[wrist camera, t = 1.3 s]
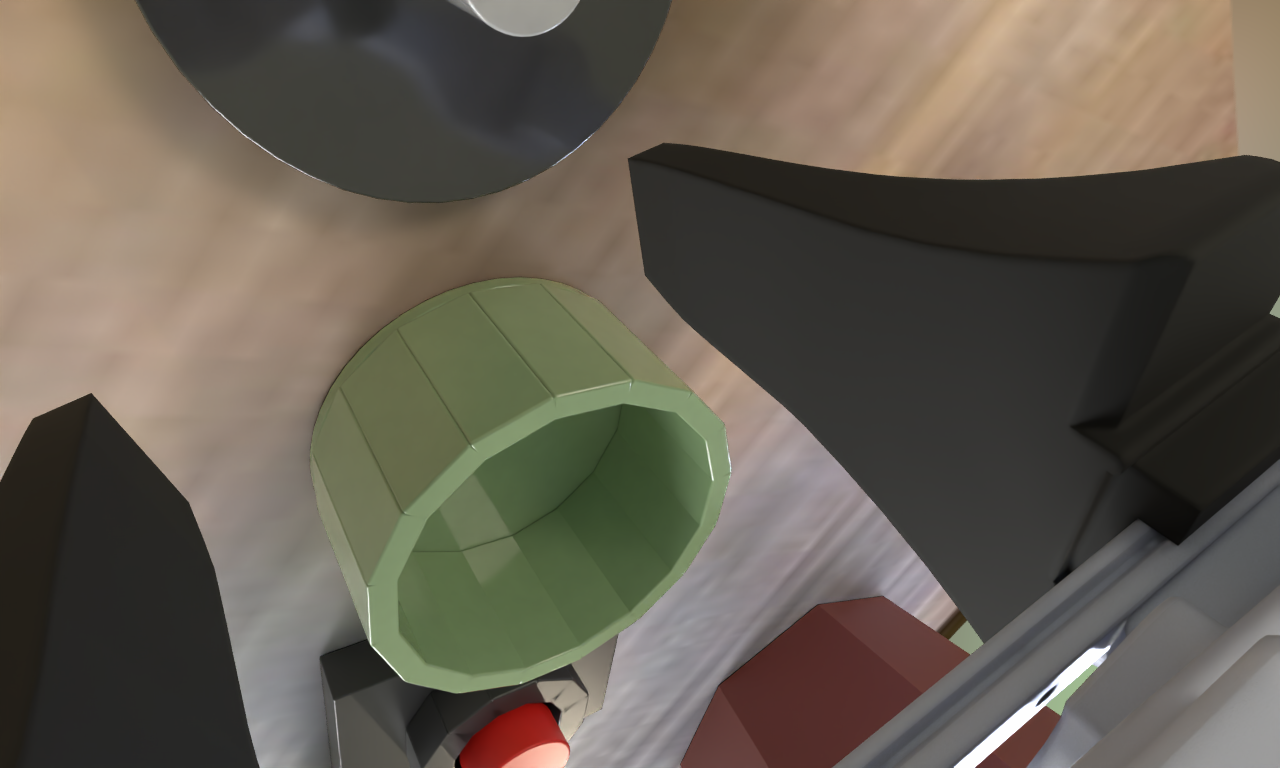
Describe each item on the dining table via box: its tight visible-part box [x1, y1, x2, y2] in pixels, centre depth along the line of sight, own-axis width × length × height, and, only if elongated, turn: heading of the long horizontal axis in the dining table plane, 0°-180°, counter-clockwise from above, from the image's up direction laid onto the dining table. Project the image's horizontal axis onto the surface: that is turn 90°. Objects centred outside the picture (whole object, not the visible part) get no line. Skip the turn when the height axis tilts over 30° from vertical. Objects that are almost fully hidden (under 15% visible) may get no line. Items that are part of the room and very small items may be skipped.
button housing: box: [320, 633, 619, 768], centre depth 29 cm, size 11×8×4 cm
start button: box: [459, 703, 570, 768], centre depth 28 cm, size 4×4×2 cm
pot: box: [310, 277, 732, 694], centre depth 22 cm, size 10×10×6 cm
